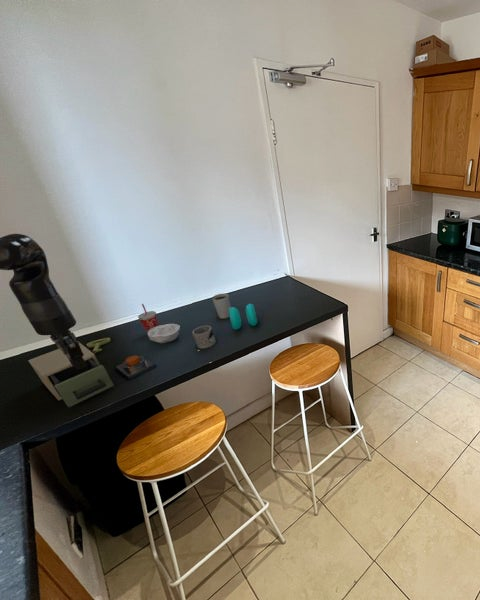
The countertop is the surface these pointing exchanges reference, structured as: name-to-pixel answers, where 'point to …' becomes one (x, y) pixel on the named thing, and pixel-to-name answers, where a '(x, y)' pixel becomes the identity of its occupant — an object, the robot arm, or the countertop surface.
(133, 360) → the button
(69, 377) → the pull-out drawer
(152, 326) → the beverage cup
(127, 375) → the control block
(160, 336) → the cell model
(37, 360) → the small drawer cabinet
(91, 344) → the key
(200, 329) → the mug
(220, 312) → the drinking glass
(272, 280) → the countertop surface
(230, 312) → the donuts
